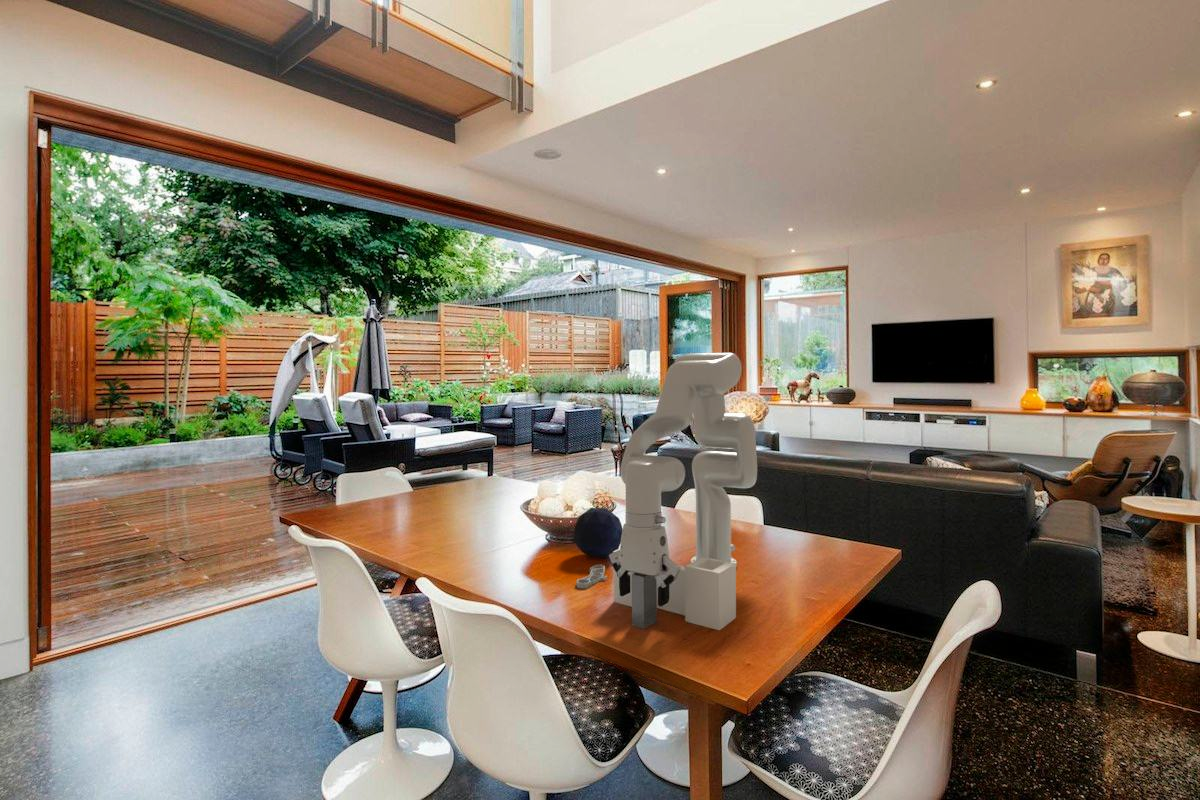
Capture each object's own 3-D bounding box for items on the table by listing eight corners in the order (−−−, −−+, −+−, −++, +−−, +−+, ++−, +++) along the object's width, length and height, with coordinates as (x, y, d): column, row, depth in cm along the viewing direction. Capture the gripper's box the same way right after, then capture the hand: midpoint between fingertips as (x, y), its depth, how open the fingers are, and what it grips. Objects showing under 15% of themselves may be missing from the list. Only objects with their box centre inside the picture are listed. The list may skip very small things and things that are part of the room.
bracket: (562, 579, 153) (597, 562, 166) (563, 586, 153) (597, 569, 166) (586, 584, 149) (620, 567, 161) (586, 592, 149) (620, 574, 161)
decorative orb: (622, 529, 186) (593, 492, 183) (640, 541, 172) (609, 502, 169) (587, 560, 183) (557, 524, 180) (603, 576, 169) (570, 537, 166)
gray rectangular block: (645, 618, 132) (644, 568, 131) (656, 621, 130) (656, 570, 129) (632, 625, 128) (631, 574, 127) (644, 629, 126) (643, 577, 125)
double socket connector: (633, 591, 147) (632, 543, 147) (736, 617, 131) (735, 563, 130) (613, 601, 141) (613, 551, 140) (719, 630, 125) (719, 573, 124)
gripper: (688, 521, 125) (688, 602, 126) (620, 511, 136) (620, 586, 136) (669, 528, 119) (669, 614, 120) (600, 517, 130) (600, 595, 130)
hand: (643, 599), depth 128 cm, fingers open, 9 cm apart
